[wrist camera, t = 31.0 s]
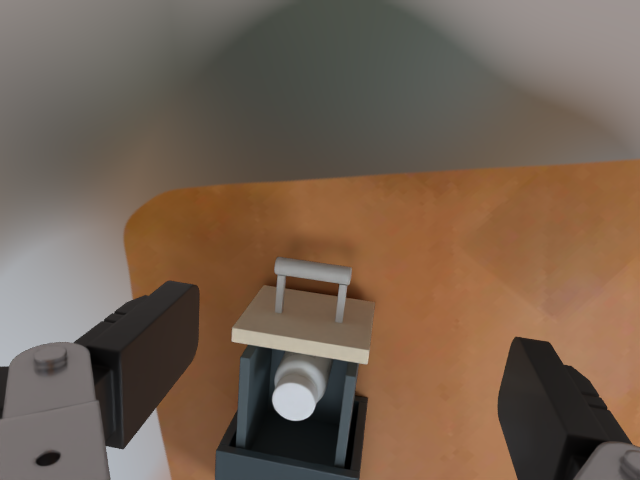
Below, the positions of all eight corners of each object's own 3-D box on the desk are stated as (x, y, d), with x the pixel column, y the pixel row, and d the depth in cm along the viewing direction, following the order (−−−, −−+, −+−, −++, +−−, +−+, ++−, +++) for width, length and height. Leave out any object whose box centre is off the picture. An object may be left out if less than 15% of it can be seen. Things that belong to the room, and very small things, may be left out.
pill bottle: (278, 346, 44) (254, 394, 37) (315, 322, 43) (297, 367, 36) (307, 381, 45) (288, 435, 38) (343, 358, 44) (332, 411, 36)
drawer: (266, 236, 43) (234, 269, 34) (382, 252, 41) (377, 290, 33) (255, 408, 48) (225, 472, 40) (357, 427, 47) (348, 497, 38)
